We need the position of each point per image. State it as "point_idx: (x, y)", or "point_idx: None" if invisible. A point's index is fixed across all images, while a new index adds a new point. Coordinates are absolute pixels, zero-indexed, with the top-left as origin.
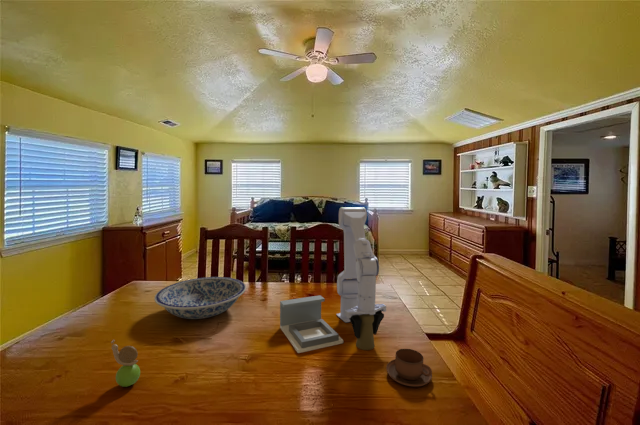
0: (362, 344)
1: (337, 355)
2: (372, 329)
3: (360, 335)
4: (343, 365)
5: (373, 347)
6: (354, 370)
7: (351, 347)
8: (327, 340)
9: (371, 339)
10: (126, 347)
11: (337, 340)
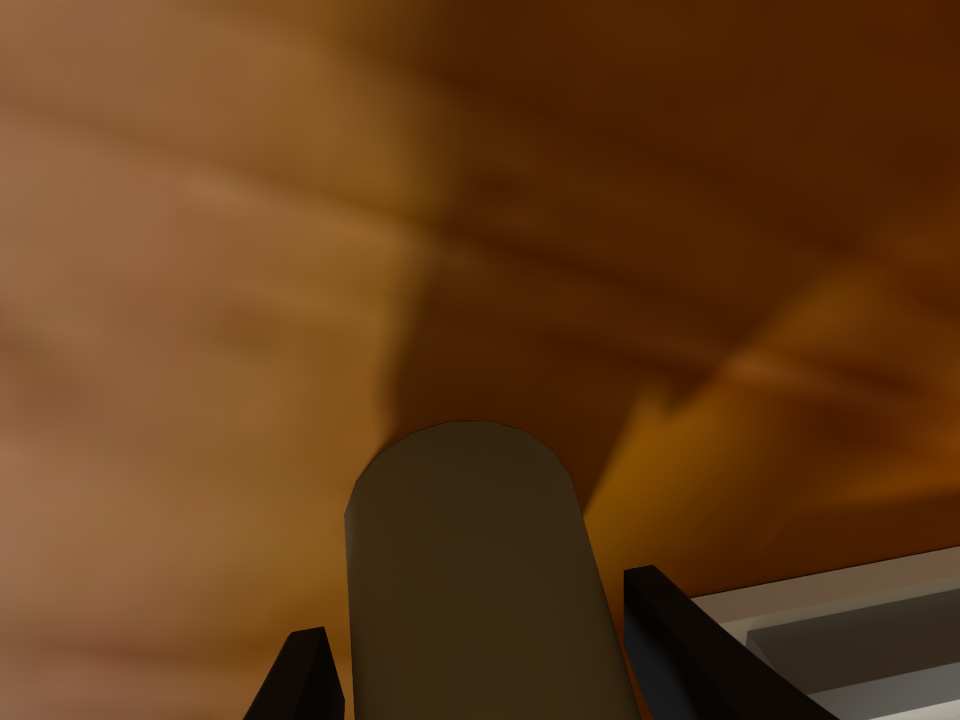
0: (561, 488)
1: (876, 393)
2: (389, 709)
3: (609, 613)
4: (951, 172)
5: (390, 452)
6: (913, 4)
7: (644, 511)
8: (905, 626)
9: (431, 525)
10: None
11: (763, 630)
